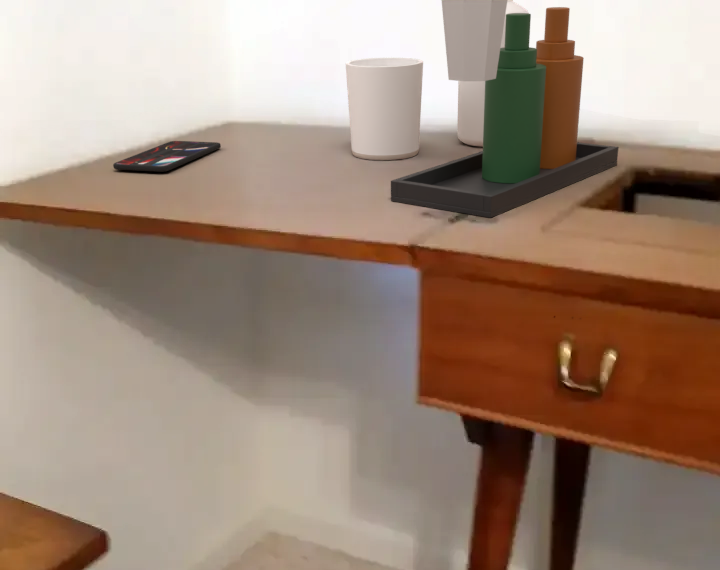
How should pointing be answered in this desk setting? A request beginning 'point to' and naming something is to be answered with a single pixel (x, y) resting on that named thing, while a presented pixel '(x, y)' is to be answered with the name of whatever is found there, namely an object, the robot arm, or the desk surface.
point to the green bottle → (514, 108)
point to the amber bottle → (559, 90)
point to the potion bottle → (476, 98)
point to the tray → (484, 198)
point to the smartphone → (167, 156)
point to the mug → (384, 107)
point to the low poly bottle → (473, 38)
